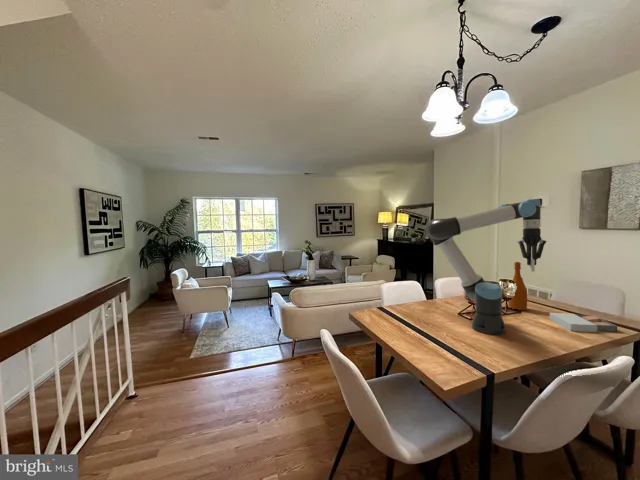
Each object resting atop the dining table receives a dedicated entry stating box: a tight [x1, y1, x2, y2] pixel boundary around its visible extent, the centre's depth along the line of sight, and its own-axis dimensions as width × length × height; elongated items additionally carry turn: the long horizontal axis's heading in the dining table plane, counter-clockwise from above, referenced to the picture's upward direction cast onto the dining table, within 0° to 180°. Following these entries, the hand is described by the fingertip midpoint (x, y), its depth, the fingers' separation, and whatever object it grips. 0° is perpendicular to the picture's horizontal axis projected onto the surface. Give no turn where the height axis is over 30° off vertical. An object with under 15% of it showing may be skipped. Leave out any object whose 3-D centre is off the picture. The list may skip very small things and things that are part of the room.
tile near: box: [593, 322, 610, 325], centre depth 138 cm, size 5×5×2 cm
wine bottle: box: [507, 261, 528, 311], centre depth 174 cm, size 10×10×30 cm
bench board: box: [549, 312, 598, 333], centre depth 144 cm, size 11×18×4 cm, turn 167°
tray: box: [576, 314, 618, 333], centre depth 143 cm, size 8×16×3 cm, turn 167°
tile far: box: [581, 315, 600, 323], centre depth 147 cm, size 5×5×2 cm
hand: (531, 271), depth 149 cm, fingers closed
